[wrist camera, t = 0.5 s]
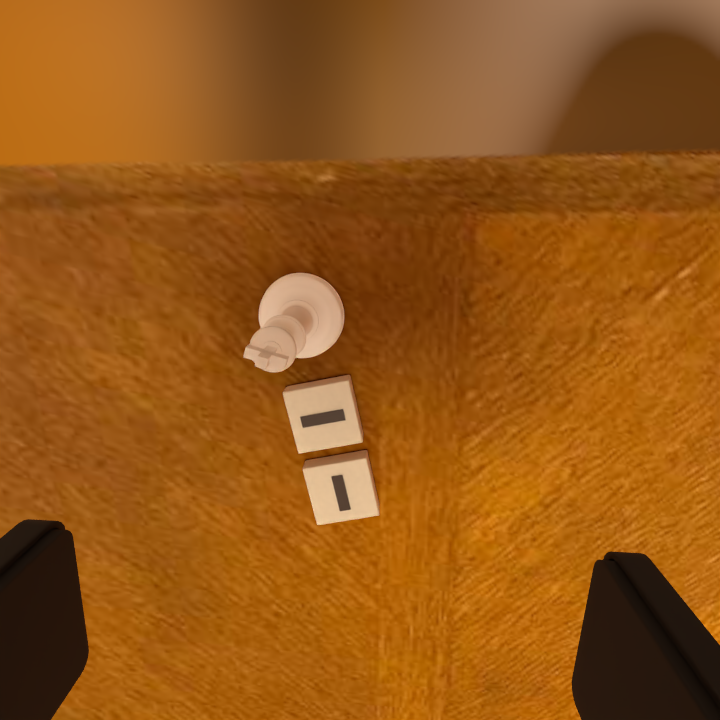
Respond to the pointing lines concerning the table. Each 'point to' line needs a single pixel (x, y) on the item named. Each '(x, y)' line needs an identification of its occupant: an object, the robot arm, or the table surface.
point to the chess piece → (295, 321)
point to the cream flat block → (328, 430)
